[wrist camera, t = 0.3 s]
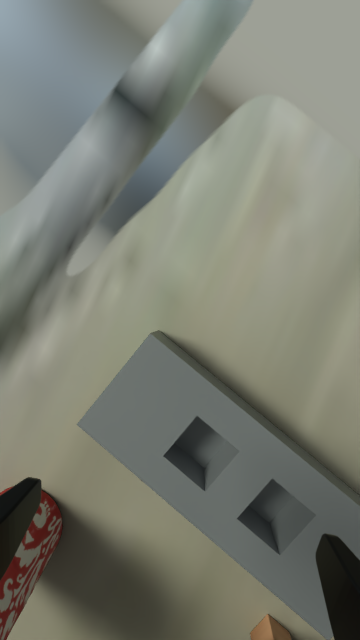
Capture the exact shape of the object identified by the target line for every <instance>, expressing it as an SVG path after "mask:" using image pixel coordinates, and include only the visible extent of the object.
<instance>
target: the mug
mask: <svg viewBox="0 0 360 640" xmlns="http://www.w3.org/2000/svg"><path fill="white" fill-rule="evenodd" d="M13 487H14V486H13ZM11 488H12V487H10V488H8V489H6V490H4V491H2V492H1V493H0V495H2V494H3V493H5V492H6V491H8V490H9V489H11ZM62 526H63V525H62V517H61V513H60V510H59V508H58V506H57V505H56V503H55V502H54V500H53V499H52V498H51V497H50V496H49V495H48V494H46V493H45V492H44V491H42V490H41V502H40V505H39V508H38V510H37V512H36V514H35V516H34V518H33V520H32V522H31V524H30V526H29V528H28V530H27V532H26V534H25V536H24V538H23V540H22V542H21V544H20V546H19V548H18V550H17V552H16V554H15V556H14V558H13V560H12V562H11V564H10V565H9V567H8V569H7V571H6V572H5V574H4V576H3V577H2V579H1V581H0V640H6V639H7V637H8V635H9V634H10V632H11V630H12V628H13V626H14V624H15V622H16V620H17V619H18V617H19V615H20V613H21V612H22V610H23V608H24V606H25V604H26V602H27V600H28V598H29V597H30V595H31V593H32V591H33V589H34V587H35V585H36V583H37V581H38V580H39V578H40V576H41V574H42V572H43V570H44V568H45V566H46V565H47V563H48V561H49V559H50V557H51V555H52V554H53V552H54V550H55V548H56V546H57V544H58V542H59V540H60V537H61V533H62Z"/></svg>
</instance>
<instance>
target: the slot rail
mask: <svg viewBox="0 0 360 640" xmlns="http://www.w3.org/2000/svg"><path fill="white" fill-rule="evenodd" d="M77 425H78V426H79V427H80V428H81V429H82V430H84V431H85V432H86V433H87V434H88V435H89V436H91V437H92V438H93V439H94V440H95V441H96V442H98V443H99V444H100V445H101V446H102V447H103V448H104V449H106V450H107V451H108V452H109V453H110V454H111V455H113V456H114V457H115V458H116V459H117V460H118V461H120V462H121V463H122V464H123V465H124V466H125V467H127V468H128V469H129V470H130V471H131V472H132V473H134V474H135V475H136V476H137V477H138V478H139V479H141V480H142V481H143V482H144V483H145V484H146V485H148V486H149V487H150V488H151V489H152V490H153V491H155V492H156V493H157V494H158V495H159V496H160V497H162V498H163V499H164V500H165V501H166V502H167V503H169V504H170V505H171V506H172V507H173V508H174V509H176V510H177V511H178V512H179V513H180V514H181V515H182V516H184V517H185V518H186V519H187V520H188V521H189V522H191V523H192V524H193V525H194V526H195V527H196V528H198V529H199V530H200V531H201V532H202V533H203V534H205V535H206V536H207V537H208V538H209V539H210V540H212V541H213V542H214V543H215V544H216V545H217V546H219V547H220V548H221V549H222V550H223V551H224V552H226V553H227V554H228V555H229V556H230V557H231V558H233V559H234V560H235V561H236V562H237V563H238V564H240V565H241V566H242V567H243V568H244V569H245V570H247V571H248V572H249V573H250V574H251V575H252V576H253V577H255V578H256V579H257V580H258V581H259V582H260V583H262V584H263V585H264V586H265V587H266V588H267V589H269V590H270V591H271V592H272V593H273V594H274V595H276V596H277V597H278V598H279V599H280V600H281V601H283V602H284V603H285V604H286V605H287V606H288V607H290V608H291V609H292V610H293V611H294V612H295V613H297V614H298V615H299V616H300V617H301V618H302V619H304V620H305V621H306V622H307V623H308V624H309V625H311V626H312V627H313V628H314V629H315V630H316V631H318V632H319V633H320V634H321V635H322V636H323V637H324V638H326V639H327V640H330V639H331V638H332V637H333V632H332V629H331V625H330V621H329V616H328V612H327V608H326V603H325V599H324V595H323V590H322V586H321V582H320V577H319V573H318V568H317V564H316V558H315V555H316V550H317V547H318V544H319V542H320V539H321V536H322V535H323V534H324V533H327V534H332V535H336V536H338V537H339V538H340V539H341V540H342V541H343V542H344V543H345V544H346V545H347V546H348V548H349V549H350V550H351V551H352V552H353V553H354V554H355V555H356V557H357V558H358V559H359V560H360V496H359V495H358V494H357V493H356V492H355V491H353V490H352V489H351V488H350V487H348V486H347V485H346V484H345V483H344V482H342V481H341V480H340V479H339V478H338V477H336V476H335V475H334V474H333V473H331V472H330V471H329V470H328V469H327V468H325V467H324V466H323V465H322V464H320V463H319V462H318V461H317V460H316V459H314V458H313V457H312V456H311V455H310V454H308V453H307V452H306V451H305V450H303V449H302V448H301V447H300V446H299V445H297V444H296V443H295V442H294V441H293V440H291V439H290V438H289V437H288V436H286V435H285V434H284V433H283V432H282V431H280V430H279V429H278V428H277V427H276V426H274V425H273V424H272V423H271V422H269V421H268V420H267V419H266V418H265V417H263V416H262V415H261V414H260V413H259V412H257V411H256V410H255V409H254V408H252V407H251V406H250V405H249V404H248V403H246V402H245V401H244V400H243V399H241V398H240V397H239V396H238V395H237V394H235V393H234V392H233V391H232V390H231V389H229V388H228V387H227V386H226V385H224V384H223V383H222V382H221V381H220V380H218V379H217V378H216V377H215V376H214V375H212V374H211V373H210V372H209V371H207V370H206V369H205V368H204V367H203V366H201V365H200V364H199V363H198V362H197V361H195V360H194V359H193V358H192V357H190V356H189V355H188V354H187V353H186V352H184V351H183V350H182V349H181V348H180V347H178V346H177V345H176V344H175V343H173V342H172V341H171V340H170V339H169V338H167V337H166V336H165V335H164V334H163V333H161V332H160V331H159V330H158V331H155V332H153V333H150V334H149V336H148V337H147V338H146V339H145V341H144V342H143V343H142V344H141V346H140V347H139V348H138V349H137V350H136V352H135V353H134V354H133V355H132V357H131V358H130V359H129V360H128V362H127V363H126V364H125V365H124V367H123V368H122V369H121V370H120V372H119V373H118V374H117V375H116V377H115V378H114V379H113V380H112V381H111V383H110V384H109V385H108V386H107V388H106V389H105V390H104V391H103V393H102V394H101V395H100V396H99V398H98V399H97V400H96V401H95V403H94V404H93V405H92V406H91V408H90V409H89V410H88V411H87V412H86V414H85V415H84V416H83V417H82V419H81V420H80V421H79V422H78V424H77Z"/></svg>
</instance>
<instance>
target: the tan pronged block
mask: <svg viewBox="0 0 360 640" xmlns="http://www.w3.org/2000/svg"><path fill="white" fill-rule="evenodd" d="M250 635H251V640H291V637H290V633H289V632H288V631H287V630H286V629H285V628H284V627H282V626H281V625H280V624H279V623H278V622H277V621H275V620H274V619H273V618H272V617H271V616H270V615H269V614H267V615H266V616H265V617H264V619H263V620H262V621H261V622H260V623H259V624H258V625H257V626H256V627H255V628H254V629H253V631H252V632H251V633H250Z"/></svg>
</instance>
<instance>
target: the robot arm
mask: <svg viewBox="0 0 360 640" xmlns="http://www.w3.org/2000/svg"><path fill="white" fill-rule="evenodd" d="M40 502H41V480H40V479H37V478H32V477H28V478H26V479H24V480H23V481H21V482H20V483H18V484H17V485H15V486H14V487H12V488H11V489H9V490H8V491H6V492H5V493H3V494H2V495H0V581H1V579H2V577H3V576H4V574H5V572H6V571H7V569H8V567H9V565H10V564H11V562H12V560H13V558H14V556H15V554H16V552H17V550H18V548H19V546H20V544H21V542H22V540H23V538H24V536H25V534H26V532H27V530H28V528H29V526H30V524H31V522H32V520H33V518H34V516H35V514H36V512H37V510H38V508H39V505H40ZM315 558H316V564H317V568H318V573H319V577H320V582H321V586H322V590H323V595H324V599H325V603H326V608H327V612H328V616H329V621H330V625H331V629H332V632H333V636H334V639H335V640H360V560H359V559H358V558H357V557H356V555H355V554H354V553H353V552H352V551H351V550H350V549H349V548H348V546H347V545H346V544H345V543H344V542H343V541H342V540H341V539H340V538H339V537H338V536H336V535H332V534H327V533H324V534H323V535H322V536H321V539H320V542H319V544H318V547H317V550H316V555H315Z"/></svg>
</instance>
